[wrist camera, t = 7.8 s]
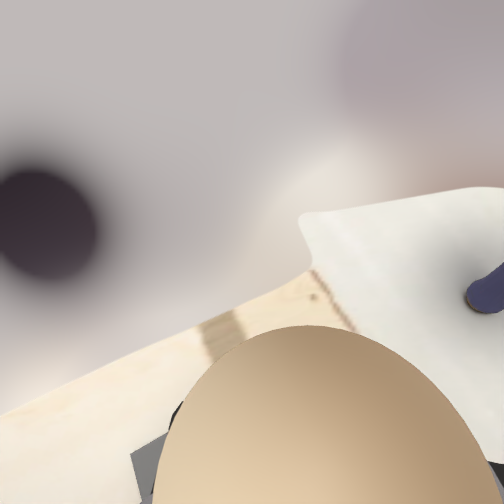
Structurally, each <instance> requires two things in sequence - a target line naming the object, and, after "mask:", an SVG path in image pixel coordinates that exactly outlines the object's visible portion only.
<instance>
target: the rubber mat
mask: <svg viewBox="0 0 504 504" xmlns="http://www.w3.org/2000/svg"><path fill="white" fill-rule="evenodd" d="M166 436H167V433H166V434H164V435H162V436H161V437H159V438H157V439H156V440H154V441H152V442H150V443H149V444H147V445H145V446H144V447H142V448H140V449H138V450H137V451H135V452H133V453H132V454H130V455H131V459H132V463H133V467H134V471H135V475H136V479H137V483H138V487H139V491H140V495H141V499H142V501H143V500H144V499H145V498H147V497H148V496H149V495H150V494H151V491H152V487H153V483H154V480H155V476H156V473H157V469H158V464H159V460H160V456H161V453H162V450H163V447H164V443H165V440H166Z"/></svg>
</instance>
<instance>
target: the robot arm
mask: <svg viewBox="0 0 504 504" xmlns="http://www.w3.org/2000/svg"><path fill="white" fill-rule="evenodd" d="M183 402H184V401H182V402H181V404H180V405H179V406H178V408H177V409H176V411H175V412H174V413H173V415H172V418H171V422H170V425H169V430H170V428H171V425H172V423H173V421H174V418H175V416H176V414H177V412H178V411H179V409H180V407H181V405H182V403H183ZM167 435H168V433H167ZM166 437H167V436H166ZM486 461H487V460H486ZM487 463H488V465H489V467H490V469H491V471H492V474H493V477H494V479H495V482H496V485H497V487H498V490H499V493H500V495H501V498H502V501H503V504H504V464H499V463H493V462H490V461H487ZM156 474H157V473H156ZM155 479H156V476H155ZM154 484H155V480H154V483H153V487H152V491H151V494H150V495H149V496H148V497H147V498H145V499H144V500H143V501H142V502H141V503H140V504H152V501H153V491H154Z"/></svg>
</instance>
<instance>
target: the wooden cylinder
mask: <svg viewBox="0 0 504 504" xmlns="http://www.w3.org/2000/svg"><path fill="white" fill-rule="evenodd" d="M152 504H503V501H502V498H501V495H500V493H499V490H498V487H497V485H496V482H495V479H494V477H493V474H492V471H491V469H490V467H489V465H488V463H487V461H486V459H485V457H484V455H483V453H482V451H481V449H480V446H479V444H478V443H477V441H476V440H475V438H474V436H473V435H472V433H471V431H470V430H469V428H468V426H467V425H466V423H465V421H464V420H463V419H462V417H461V416H460V415H459V413H458V412H457V411H456V409H455V408H454V407H453V405H452V404H451V403H450V401H449V400H448V399H447V398H446V397H445V396H444V395H443V393H442V392H441V391H440V390H439V389H438V388H437V387H436V386H435V385H434V384H433V383H432V382H431V381H430V380H429V379H428V378H427V377H426V376H425V375H424V374H423V373H421V372H420V371H419V370H418V369H417V368H416V367H415V366H413V365H412V364H411V363H409V362H408V361H407V360H405V359H404V358H402V357H401V356H400V355H398V354H397V353H395V352H393V351H392V350H390V349H388V348H387V347H385V346H383V345H381V344H380V343H378V342H375V341H373V340H371V339H368V338H366V337H364V336H361V335H359V334H355V333H352V332H349V331H345V330H342V329H336V328H331V327H325V326H308V325H307V326H293V327H286V328H281V329H276V330H272V331H269V332H266V333H263V334H260V335H257V336H255V337H253V338H251V339H249V340H247V341H245V342H243V343H241V344H239V345H238V346H236V347H235V348H233V349H232V350H230V351H229V352H227V353H226V354H225V355H223V356H222V357H221V358H220V359H219V360H218V361H216V362H215V363H214V364H213V365H212V366H211V367H210V368H209V369H208V370H207V371H206V372H205V373H204V374H203V376H202V377H201V378H200V379H199V380H198V381H197V383H196V384H195V385H194V387H193V388H192V390H191V391H190V392H189V394H188V395H187V397H186V398H185V400H184V402H183V403H182V405H181V407H180V409H179V411H178V412H177V414H176V416H175V418H174V421H173V423H172V425H171V428H170V430H169V432H168V435H167V437H166V440H165V443H164V447H163V450H162V453H161V456H160V460H159V464H158V469H157V474H156V479H155V484H154V491H153V501H152Z"/></svg>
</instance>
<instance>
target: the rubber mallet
mask: <svg viewBox="0 0 504 504" xmlns="http://www.w3.org/2000/svg"><path fill="white" fill-rule="evenodd" d="M467 302H468V303H469V305H470V306H471V307H472V308H474V309H475V310H477V311H480V312H485V313H497V312H500V311H502V310H503V309H504V263H503V264H501V265H500V266H499V267H498V268H496V269H495V270H494V271H493V272H491V273H490V274H489V275H488V276H486V277H485V278H483V279H480V280H477V281H475V282H473V283H472V284H471V285H470V286H469V288H468V289H467Z"/></svg>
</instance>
